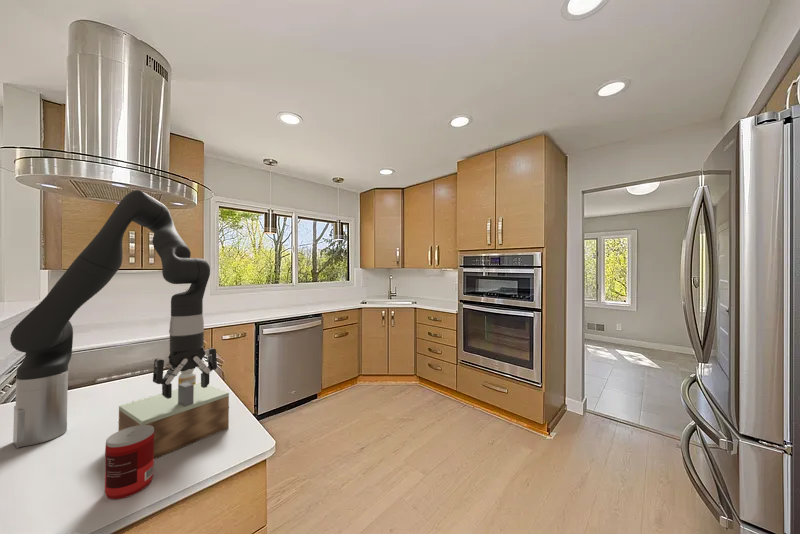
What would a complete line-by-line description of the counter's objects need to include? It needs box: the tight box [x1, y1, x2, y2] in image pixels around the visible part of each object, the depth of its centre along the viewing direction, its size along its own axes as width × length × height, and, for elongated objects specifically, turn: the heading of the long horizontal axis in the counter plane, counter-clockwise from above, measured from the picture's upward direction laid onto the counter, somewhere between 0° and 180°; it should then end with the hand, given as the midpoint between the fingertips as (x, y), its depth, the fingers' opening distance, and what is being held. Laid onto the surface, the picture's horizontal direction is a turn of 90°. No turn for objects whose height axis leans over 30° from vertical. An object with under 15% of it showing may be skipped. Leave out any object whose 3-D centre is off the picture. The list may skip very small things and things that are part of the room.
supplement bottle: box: [177, 369, 197, 385], centre depth 113 cm, size 5×5×10 cm
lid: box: [118, 382, 230, 425], centre depth 83 cm, size 20×16×6 cm
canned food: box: [104, 425, 155, 500], centre depth 63 cm, size 8×8×11 cm
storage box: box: [118, 395, 230, 461], centre depth 83 cm, size 20×16×9 cm
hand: (187, 392), depth 81 cm, fingers open, 8 cm apart
